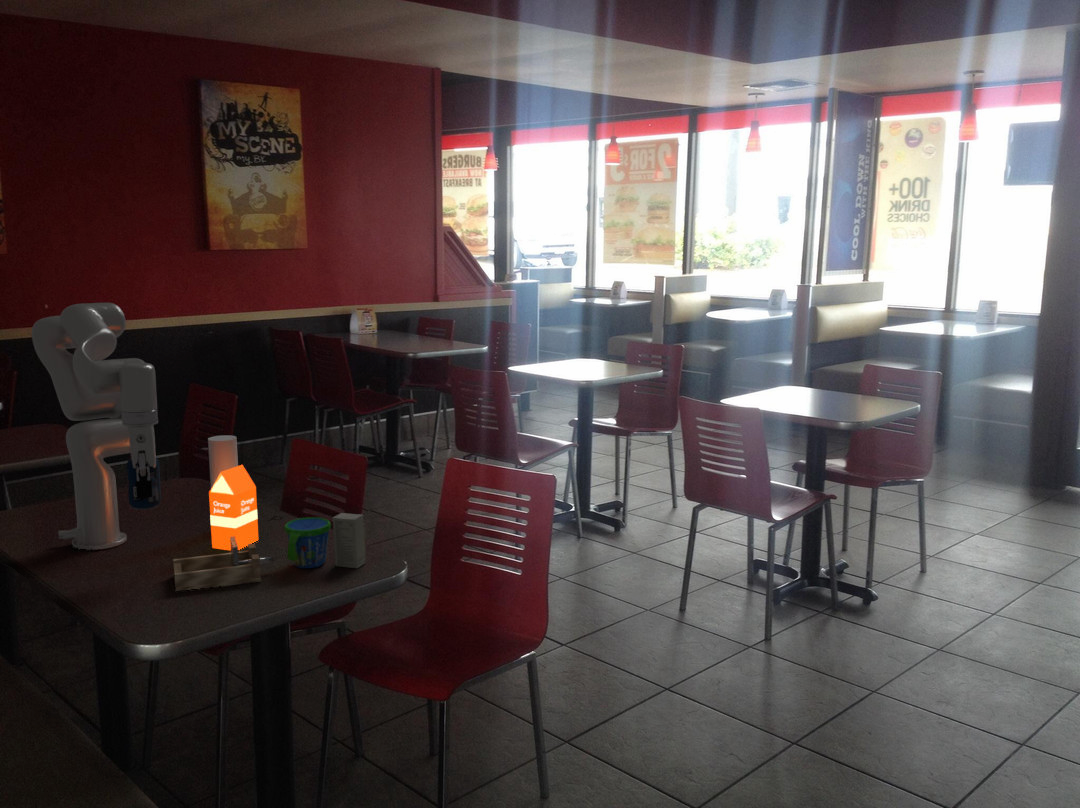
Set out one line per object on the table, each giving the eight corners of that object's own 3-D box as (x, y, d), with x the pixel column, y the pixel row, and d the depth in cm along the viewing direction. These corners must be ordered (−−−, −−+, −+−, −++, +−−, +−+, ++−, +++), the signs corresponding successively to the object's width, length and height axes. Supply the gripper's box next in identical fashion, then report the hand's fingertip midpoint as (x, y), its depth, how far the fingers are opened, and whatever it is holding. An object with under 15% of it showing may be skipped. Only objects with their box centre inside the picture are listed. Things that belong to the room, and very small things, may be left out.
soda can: (137, 501, 218) (134, 451, 216) (166, 502, 218) (163, 452, 215) (123, 510, 211) (120, 459, 209) (153, 511, 211) (150, 459, 209)
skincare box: (366, 563, 222) (365, 514, 220) (357, 569, 218) (355, 519, 216) (343, 560, 225) (341, 511, 222) (333, 566, 220) (332, 516, 218)
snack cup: (308, 578, 213) (306, 535, 211) (270, 571, 216) (268, 530, 215) (346, 557, 227) (345, 516, 225) (310, 551, 231) (308, 512, 229)
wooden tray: (175, 592, 203) (174, 568, 202) (174, 575, 214) (173, 552, 213) (260, 581, 210) (259, 558, 209) (255, 565, 220) (254, 543, 220)
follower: (234, 577, 209) (233, 547, 208) (231, 565, 217) (230, 536, 216) (275, 571, 213) (274, 542, 211) (271, 560, 220) (270, 532, 219)
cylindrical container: (236, 533, 245) (231, 441, 240) (209, 533, 245) (203, 440, 241) (245, 525, 252) (240, 435, 247) (219, 525, 252) (213, 435, 248)
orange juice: (211, 548, 233) (207, 470, 230) (234, 537, 241) (230, 463, 238) (237, 551, 231) (233, 473, 227) (259, 541, 239) (255, 465, 235)
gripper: (158, 423, 204) (162, 501, 207) (157, 409, 220) (161, 482, 223) (120, 425, 201) (126, 504, 204) (122, 411, 217) (127, 484, 220)
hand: (144, 492), depth 214 cm, fingers closed on soda can, 6 cm apart
